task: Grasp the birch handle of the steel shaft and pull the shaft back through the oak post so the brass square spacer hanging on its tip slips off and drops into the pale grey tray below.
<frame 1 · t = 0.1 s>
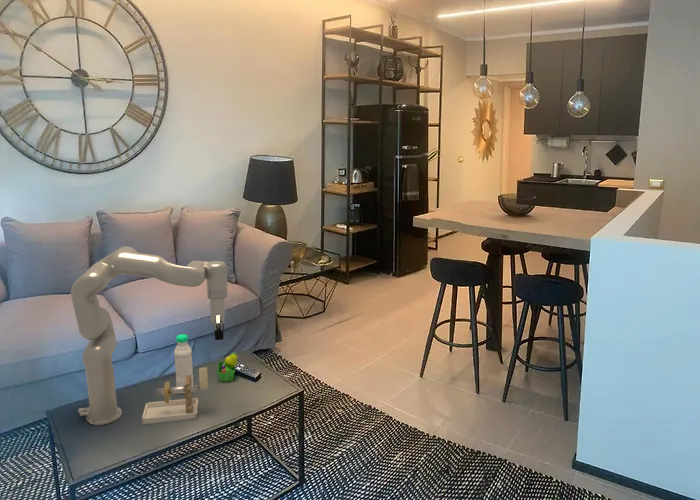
hand: (219, 334, 210), 31 cm above the table, tool pointing down, fingers open, 9 cm apart
steel shaft: (181, 381, 209), point 13 cm above the table, slide at 0.0 cm, touching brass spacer
fruit basket: (228, 377, 242), on the table
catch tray: (171, 413, 211), on the table
shaft post: (189, 411, 212), resting on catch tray
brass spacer: (167, 399, 209), point 6 cm above the table, touching steel shaft
water bottle: (185, 390, 229), on the table
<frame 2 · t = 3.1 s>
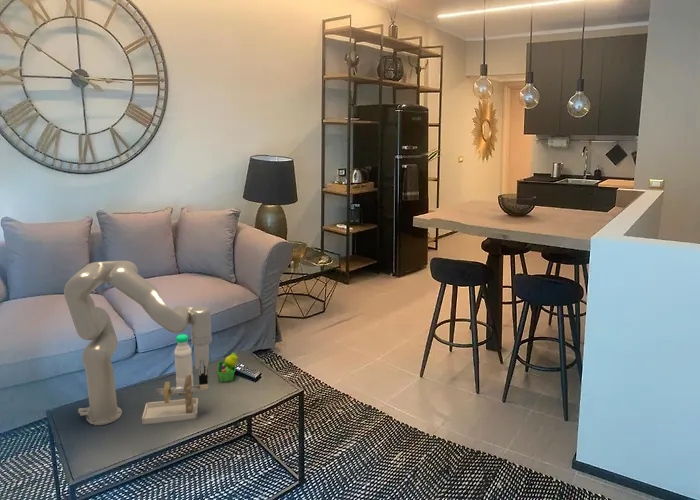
hand: (203, 381, 211), 13 cm above the table, tool pointing down, fingers closed on steel shaft, 3 cm apart
steel shaft: (181, 381, 209), point 13 cm above the table, slide at 0.0 cm, touching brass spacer, gripper
everything else where it was.
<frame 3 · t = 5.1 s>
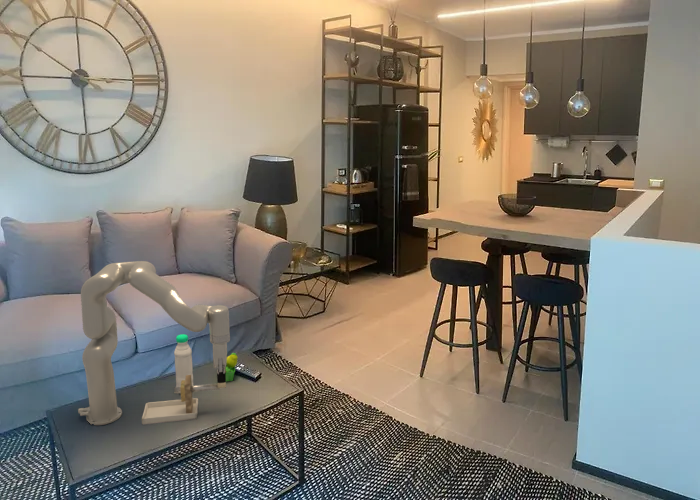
hand: (221, 379, 212), 13 cm above the table, tool pointing down, fingers closed on steel shaft, 3 cm apart
steel shaft: (200, 380, 210), point 13 cm above the table, slide at 6.9 cm, touching gripper
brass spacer: (184, 397, 210), point 6 cm above the table, touching shaft post
everything else where it was.
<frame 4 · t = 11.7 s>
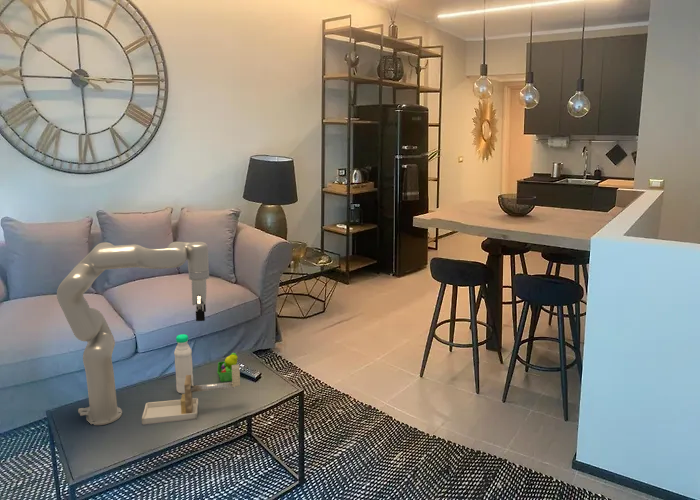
hand: (201, 316, 209), 38 cm above the table, tool pointing down, fingers open, 9 cm apart
steel shaft: (214, 378, 211), point 13 cm above the table, slide at 12.4 cm
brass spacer: (184, 411, 212), resting on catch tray
everything else where it was.
at the end: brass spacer inside the target area on the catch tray (5.0 cm from its centre), point 0.5 cm above the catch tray's base; steel shaft slide at 12.4 cm; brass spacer touching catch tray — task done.
